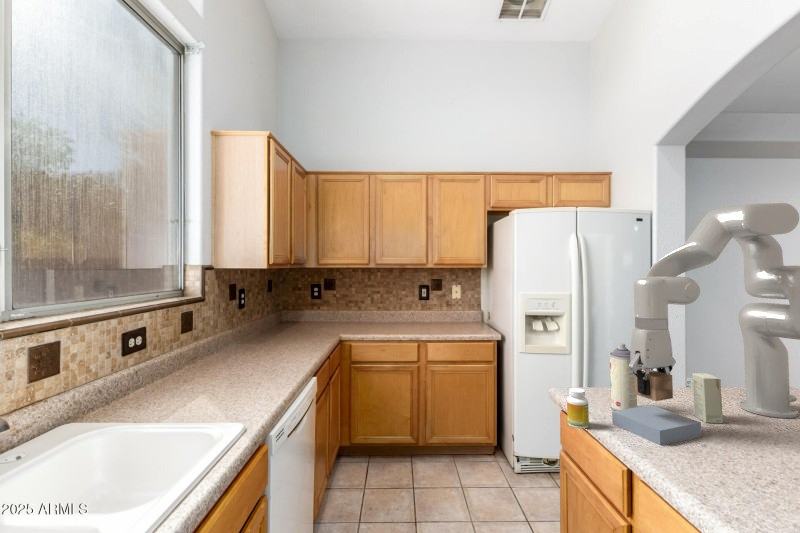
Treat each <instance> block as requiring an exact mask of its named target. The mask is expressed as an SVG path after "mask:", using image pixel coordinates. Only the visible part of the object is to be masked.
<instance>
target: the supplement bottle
mask: <svg viewBox="0 0 800 533" xmlns="http://www.w3.org/2000/svg"><path fill="white" fill-rule="evenodd" d="M568 391H569V392H568V393H569V396H568V397H567V398H566V412H567V415H566V416H567V417H566V418H567V425H569V426H570V427H572V428H575V429H581V430H582V429H587V428H589V426H590V418H589V417H590V415H589V400H588V399H587V398H586V390H584V389H582V388H579V387H572V388H569V389H568Z"/></svg>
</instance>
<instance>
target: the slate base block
mask: <svg viewBox="0 0 800 533" xmlns="http://www.w3.org/2000/svg"><path fill="white" fill-rule="evenodd" d="M611 414H612V415H611V416H612V417H611V418H612V420H611V421H612V425H613V426H616V427H617V428H619V429H623V430H625V431H626V432H629V433H631V434H634V435H636V436H638V437H640V438H643V439H645V440H647V441H649V442H652V443H654V444H657V445H659V446H664V445H667V444H668V445H669V444H672V443H677V442H682V441H688V440H690V439H691V438H692V439H695V438H699V437H700V436H701V437H702V423H701V422H700V421H698V420H695V419H692V418H689V417H687V416H684V415H681V414H677V413H675V412H673V411H669V410H666V409H663V408H660V407H657V406H654V405H652V404H647V405H642V406H637V407H635V408H629V409H623V410H618V411H613V410H612V411H611ZM692 439H691V440H692Z"/></svg>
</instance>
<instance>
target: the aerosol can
mask: <svg viewBox="0 0 800 533" xmlns="http://www.w3.org/2000/svg"><path fill="white" fill-rule="evenodd" d="M630 362H631V361H630V349H629V348H627V347H626V344H625V343H618V346H617V347H616V348H615V349H614V350H612V352H610V354H609V366H610V367H609V368H610V369H609V371H610V372H609V373H610V401H611V402H610V406H611V410H612V411H618V410H623V409H629V408H635V407H638V395H635V375H634V373H633V371H632V370H631V369H630V368H629V364H630Z"/></svg>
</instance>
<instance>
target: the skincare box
mask: <svg viewBox="0 0 800 533" xmlns="http://www.w3.org/2000/svg"><path fill="white" fill-rule="evenodd" d="M691 374H692V375H691V376H692V396H693V415H694V416H695V417H697V418H698V419H699V420H701V421H703V422H704V423H711V424H712V423H714V424H723V423H724V418H723V417H724V416H723V403H722V402H723V401H722V400H723V399H722V386H721V384H722V383H721V382H722V381H721V378H720V377H717V376H715V375H712V374H711V373H705V372H704V373H698V372H697V373H696V372H694V373H693V372H692V373H691Z"/></svg>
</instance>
